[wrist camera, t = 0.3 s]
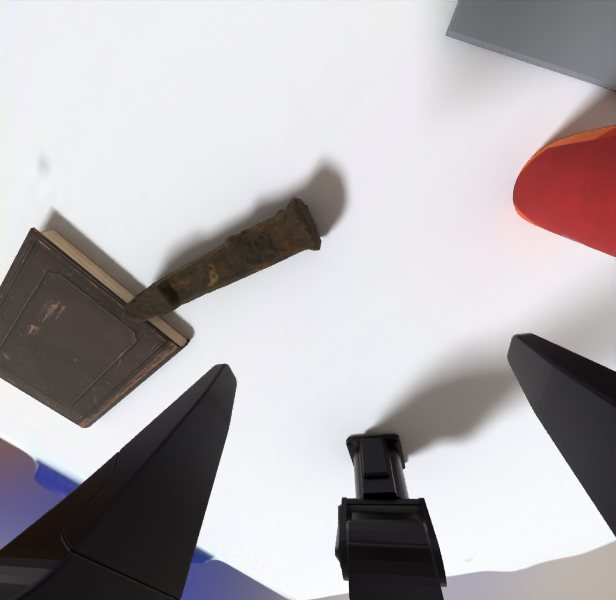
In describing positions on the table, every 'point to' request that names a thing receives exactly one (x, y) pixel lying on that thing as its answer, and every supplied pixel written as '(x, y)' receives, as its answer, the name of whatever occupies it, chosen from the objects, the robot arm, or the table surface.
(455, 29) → the mat
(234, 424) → the table surface
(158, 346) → the hardcover book
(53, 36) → the table surface
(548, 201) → the paper cup
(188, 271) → the brown wooden branch
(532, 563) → the table surface
